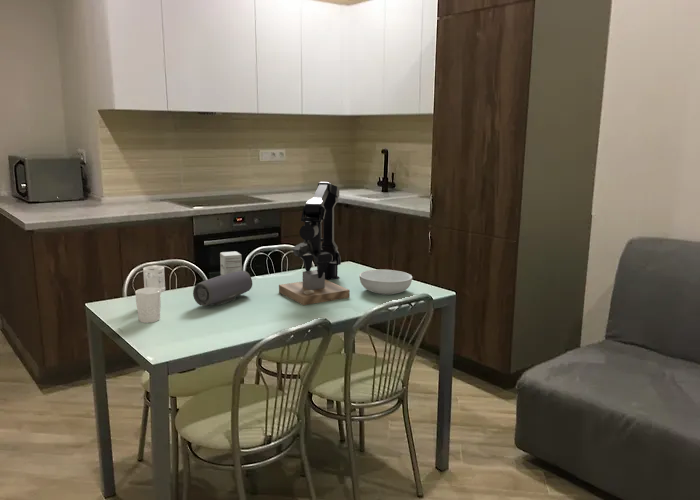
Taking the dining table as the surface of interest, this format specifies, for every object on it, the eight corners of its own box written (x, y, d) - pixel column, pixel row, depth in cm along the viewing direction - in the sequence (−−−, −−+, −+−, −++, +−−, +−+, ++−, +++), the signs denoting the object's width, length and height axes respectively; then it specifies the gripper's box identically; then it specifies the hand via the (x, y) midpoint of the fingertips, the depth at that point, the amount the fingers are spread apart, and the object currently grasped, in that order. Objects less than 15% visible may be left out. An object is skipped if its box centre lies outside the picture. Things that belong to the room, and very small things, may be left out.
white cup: (153, 314, 201) (151, 286, 199) (166, 319, 196) (165, 290, 194) (132, 320, 195) (130, 290, 193) (145, 325, 190) (143, 295, 188)
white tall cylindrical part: (147, 309, 207) (145, 267, 203) (143, 304, 212) (141, 263, 209) (168, 306, 210) (166, 265, 207) (163, 301, 216) (161, 261, 213)
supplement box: (220, 281, 245) (219, 252, 242) (238, 280, 248) (237, 250, 245) (224, 286, 238) (223, 255, 236) (242, 284, 241) (241, 254, 239)
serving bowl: (408, 301, 222) (409, 283, 221) (354, 297, 226) (354, 279, 225) (414, 287, 242) (414, 270, 241) (364, 283, 246) (364, 267, 245)
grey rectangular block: (316, 290, 232) (316, 269, 230) (324, 294, 227) (324, 272, 225) (302, 292, 229) (302, 271, 227) (310, 296, 224) (310, 274, 222)
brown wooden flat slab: (323, 285, 241) (323, 276, 241) (349, 297, 225) (349, 287, 224) (279, 292, 231) (278, 282, 230) (303, 305, 214) (303, 295, 214)
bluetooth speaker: (235, 292, 230) (234, 267, 228) (253, 296, 225) (253, 270, 223) (192, 307, 211) (191, 279, 209) (211, 311, 206) (210, 283, 204)
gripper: (283, 233, 226) (284, 272, 230) (307, 241, 211) (307, 283, 214) (309, 231, 232) (309, 269, 236) (333, 238, 217) (333, 279, 220)
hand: (313, 275), depth 226 cm, fingers open, 9 cm apart
